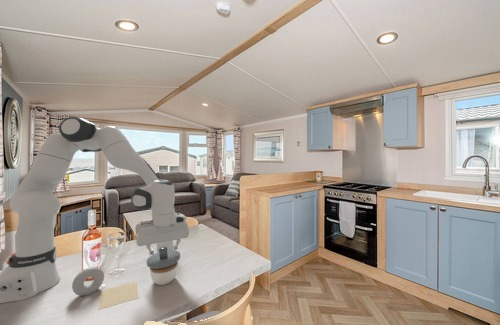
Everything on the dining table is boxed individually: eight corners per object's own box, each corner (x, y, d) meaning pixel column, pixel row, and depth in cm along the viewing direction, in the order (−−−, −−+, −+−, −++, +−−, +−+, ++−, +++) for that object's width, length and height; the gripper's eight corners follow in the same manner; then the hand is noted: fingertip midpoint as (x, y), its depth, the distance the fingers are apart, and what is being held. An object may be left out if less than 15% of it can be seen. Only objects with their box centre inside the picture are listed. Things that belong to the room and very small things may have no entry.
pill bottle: (162, 262, 106) (161, 232, 106) (153, 257, 111) (153, 229, 111) (176, 256, 112) (176, 228, 112) (167, 252, 117) (167, 225, 117)
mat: (98, 311, 73) (98, 309, 73) (101, 291, 83) (101, 290, 83) (138, 299, 79) (138, 297, 79) (136, 282, 89) (136, 281, 89)
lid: (148, 272, 81) (147, 259, 80) (145, 257, 92) (144, 246, 92) (183, 261, 87) (182, 250, 87) (176, 249, 98) (176, 238, 98)
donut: (102, 286, 87) (102, 261, 86) (105, 289, 85) (105, 264, 84) (71, 298, 79) (70, 272, 79) (73, 302, 77) (73, 275, 77)
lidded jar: (144, 286, 86) (143, 263, 86) (162, 273, 97) (162, 252, 96) (166, 292, 83) (166, 268, 83) (182, 277, 93) (182, 255, 93)
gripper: (135, 224, 81) (136, 260, 82) (190, 217, 92) (190, 249, 92) (135, 220, 87) (135, 254, 87) (186, 213, 97) (186, 244, 97)
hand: (163, 251), depth 90 cm, fingers open, 8 cm apart
